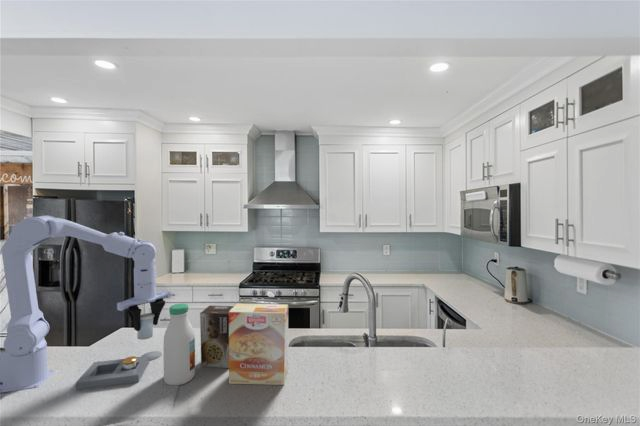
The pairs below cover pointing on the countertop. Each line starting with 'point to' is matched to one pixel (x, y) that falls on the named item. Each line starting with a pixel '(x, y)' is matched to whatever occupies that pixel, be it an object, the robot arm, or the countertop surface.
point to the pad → (153, 355)
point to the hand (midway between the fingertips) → (146, 327)
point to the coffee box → (215, 336)
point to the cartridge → (146, 326)
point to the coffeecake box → (258, 344)
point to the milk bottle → (179, 347)
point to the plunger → (129, 363)
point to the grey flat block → (111, 374)
